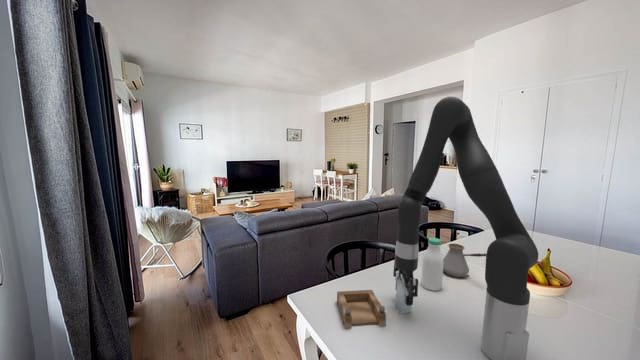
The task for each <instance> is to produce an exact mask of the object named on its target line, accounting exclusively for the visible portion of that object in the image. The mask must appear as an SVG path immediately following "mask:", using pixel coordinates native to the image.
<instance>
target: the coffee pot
mask: <svg viewBox="0 0 640 360" xmlns="http://www.w3.org/2000/svg"><path fill="white" fill-rule="evenodd" d="M447 245H448V247H449V250H448V252H447V253H446V254H445V256H444V257H443V272H444V273H445V274H446V275H448V276H450V277H455V278H462V277H464V276H466V275H467V274H469V271H470V268H469V265H468V263H467V260H466V257H479V258H480V257H485V258H486V254H487V253H485V252H484V253H464V252H463V251H464V250H465V246H464V245H461V244H459V243H449V244H447Z"/></svg>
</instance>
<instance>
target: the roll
mask: <svg viewBox="0 0 640 360" xmlns="http://www.w3.org/2000/svg"><path fill="white" fill-rule="evenodd" d="M406 285H409V284H406ZM395 291H396V292H395V293H396V294H395V309H396V311H397V312H399V313H402V314H410V313H411V312H412V306H407V305H406V290H405V288H404V287H403V282H402V280H401V279H400V278H399V279H397V288H396V287H395ZM408 291H409V288H408Z"/></svg>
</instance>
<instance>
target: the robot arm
mask: <svg viewBox="0 0 640 360" xmlns="http://www.w3.org/2000/svg"><path fill="white" fill-rule="evenodd" d="M474 122H475V121H474V119H473V115H472V112H471V109H470V107H469V106H468V105H467V104H466V103H465V102H464V101H463V100H462V99H460V98H458V97H457V96H447V97H443V98H442V99H440V100H439V101H438V102H437V103H436V104H435V106H434V107H433V110H432V113H431V117H430V120H429V125H428V129H427V132H426V136H425V139H424V143H423V146H422V149H421V151H420V155H419V157H418V160H417V162H416V164H415V167H414V169H413V171H412V174H411V176H410V178H409V180H408V186H407V187H406V189H405V191H404V193H403V195H402V198H401V199H400V202H399V203H398V206H397V226H398V227H397V231H396V244H395V248H394V249H395V252H394V262H393V263H394V264H393V272H392V273H393V275H392V276H393V277H394V280H395V289H396V288H397V279H399V278H400V279H401V280H402V282H403V287H404V288H405V290H406V305H407V306H411V307H412V306H413V304H414V298H417V297H418V296H419V295H418V294H419V293H418V291H419V279H418V278H415V277H414V272H415V271H416V270H417V269H418V267H419V265H418V264H419V251H420V249H419V248H420V247H419V245H420V244H419V240H420V219H421V211H422V207H423V205H424V202H425V199H426V197H427V194H428V193H429V192H430V191H431V189H432V186H433V184H434V182H435V180H436V178H437V175H438V173H439V170H440V167H441V164H442V158H443V155H444V154H443V153H444V149H445V147H446V145H447V141H448V139H449V140H450V142H451V144H452V147H453V149H454V152H455V153H454V154H455V158H456V165H457V166H456V168H457V171H458V174H459V178H460V180H461V182H462V185H463V187H464V190H465V191H466V194H467V195H468V197H469V198H470V200H471V201H472V202H473V204H474V205H475V207H477V208H478V209H479V211H480V212H482V214H483V215H484V216H485V218H486V219H487V220H488V222H489V225H490V226H491V230H492V231H493V234H494V237H495V240H493V241H492V242H491V243H490V244H489V245H488V248H487V249H486V253H485V254H486V256H485V271H484V279H485V280H484V281H485V283H486V292H485V293H486V294H485V302H484V304H485V305H484V313H483V320H482V322H483V323H482V330H481V343H480V348H481V350H482V353H483V354H484V355H485V356H486V357H487V358H488V359H489V360H527V355H528V346H529V341H530V340H529V339H530V333H529V331H528V330H527V323H528V314H529V308H530V307H529V306H530V300H531V291H530V290H529V288H528V276H529V270H530V269H531V268H533V267H534V266H535V265H536V264H537V263H538V260H539V251H538V248H537V245H536V244H535V242H534V241H533V239H532V237H531V235H530V234H529V232H528V231H527V229H526V227H525V226H524V224H523V223H522V221H521V219H520V217H519V215H518V214H517V212H516V209H515V207H514V204H513V202H512V200H511V197H510V196H509V193H508V191H507V189H506V186H505V184H504V181H503V179H502V177H501V175H500V173H499V171H498V168H497V167H496V165H495V163H494V160H493V159H492V157H491V155H490V153H489V152H488V150H487V149H486V146H485V145H484V144H483V143H482V140H481V139H480V137H479V133H478V131H477V128H476V124H475V123H474ZM406 284H409V285H406ZM408 288H409V291H408Z"/></svg>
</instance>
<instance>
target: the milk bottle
mask: <svg viewBox="0 0 640 360" xmlns="http://www.w3.org/2000/svg"><path fill="white" fill-rule="evenodd" d="M427 242H428V243H427V244H428V246H427V248H426V251H424V255H423V258H422V265H421V266H422V268H421V281H420V283H421V285H422V286H421V287H423V288H424V289H426V290H429V291H434V292H437V291H440V290H441V289H442V287H443V277H444V275H443V274H444V270H443V259H444V257H443V253H442V252H441V247H442V246H441V244H442V240H441V239H440V238H437V237H429V238H428V240H427Z"/></svg>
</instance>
